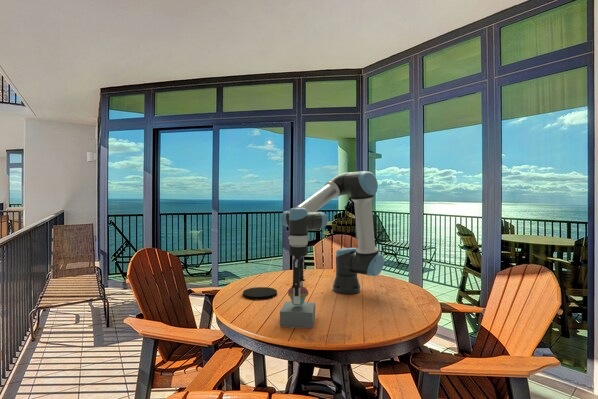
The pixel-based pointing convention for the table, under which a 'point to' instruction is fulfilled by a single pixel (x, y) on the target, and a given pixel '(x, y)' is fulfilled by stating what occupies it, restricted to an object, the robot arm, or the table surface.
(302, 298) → the cupcake
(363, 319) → the table surface
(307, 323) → the plinth
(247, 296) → the wireless charger
